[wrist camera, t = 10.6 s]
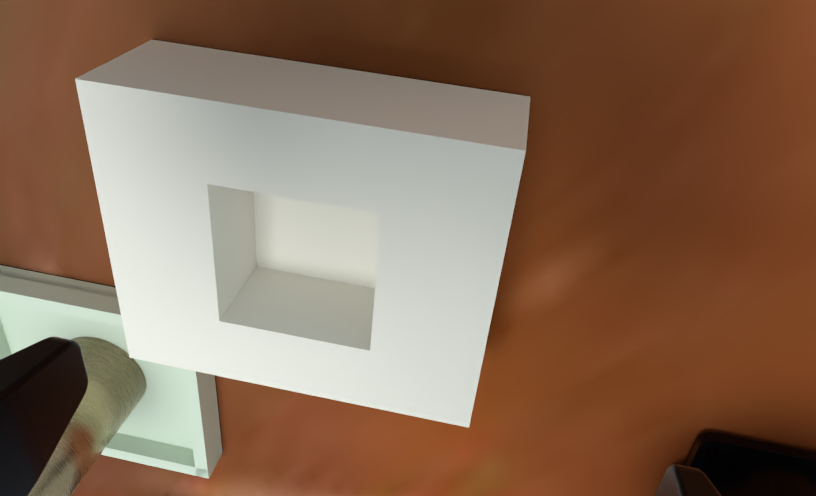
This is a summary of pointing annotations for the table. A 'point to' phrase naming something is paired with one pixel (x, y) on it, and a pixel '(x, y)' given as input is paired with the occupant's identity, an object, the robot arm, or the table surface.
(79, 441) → the plug
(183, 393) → the tray
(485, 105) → the white block with recess
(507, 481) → the table surface
